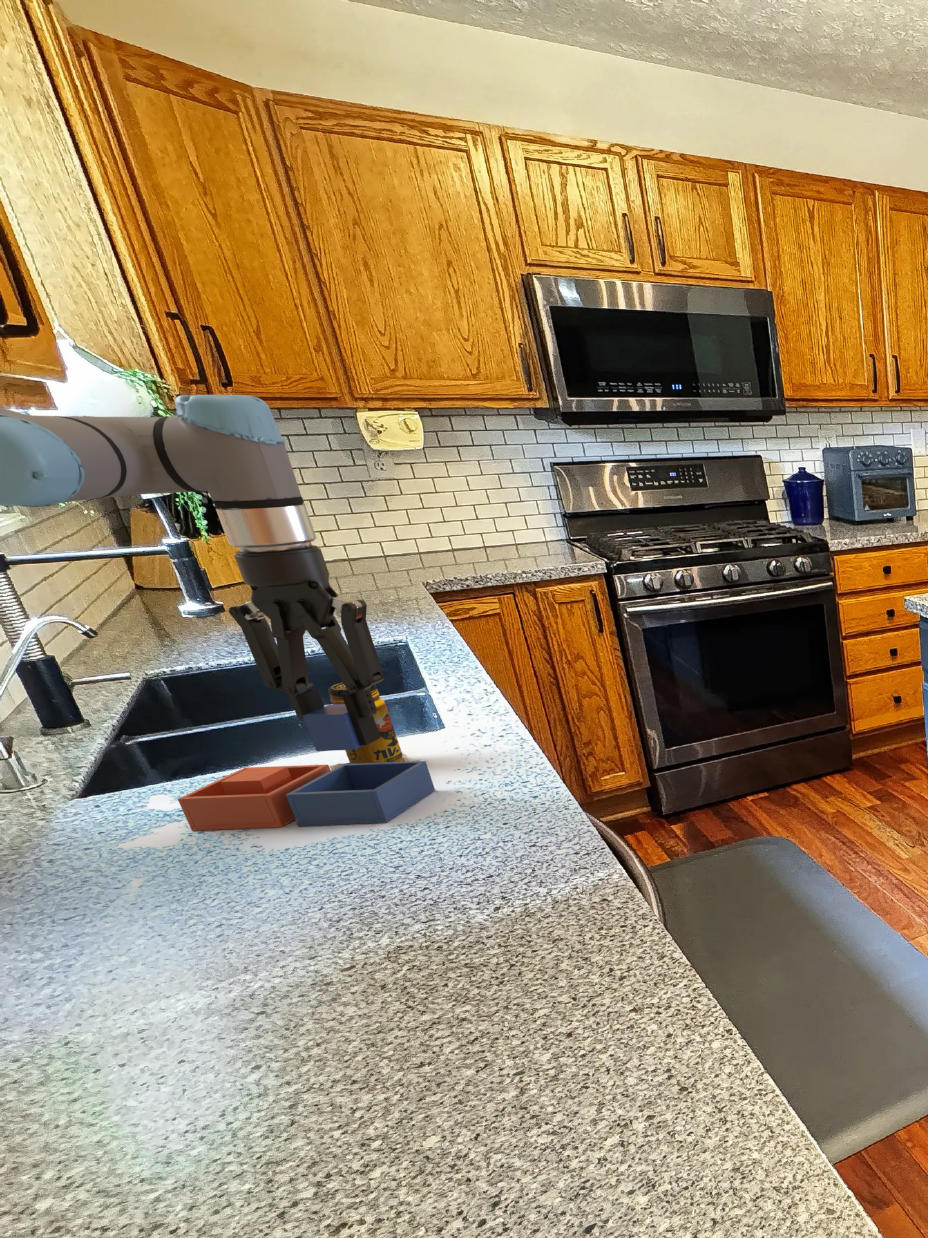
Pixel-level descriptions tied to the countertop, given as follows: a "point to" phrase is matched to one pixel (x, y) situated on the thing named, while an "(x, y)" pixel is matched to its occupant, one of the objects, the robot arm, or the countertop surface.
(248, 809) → the terracotta bin
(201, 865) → the countertop surface
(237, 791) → the terracotta block
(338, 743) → the blue block
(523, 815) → the countertop surface
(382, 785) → the blue bin
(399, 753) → the condiment
